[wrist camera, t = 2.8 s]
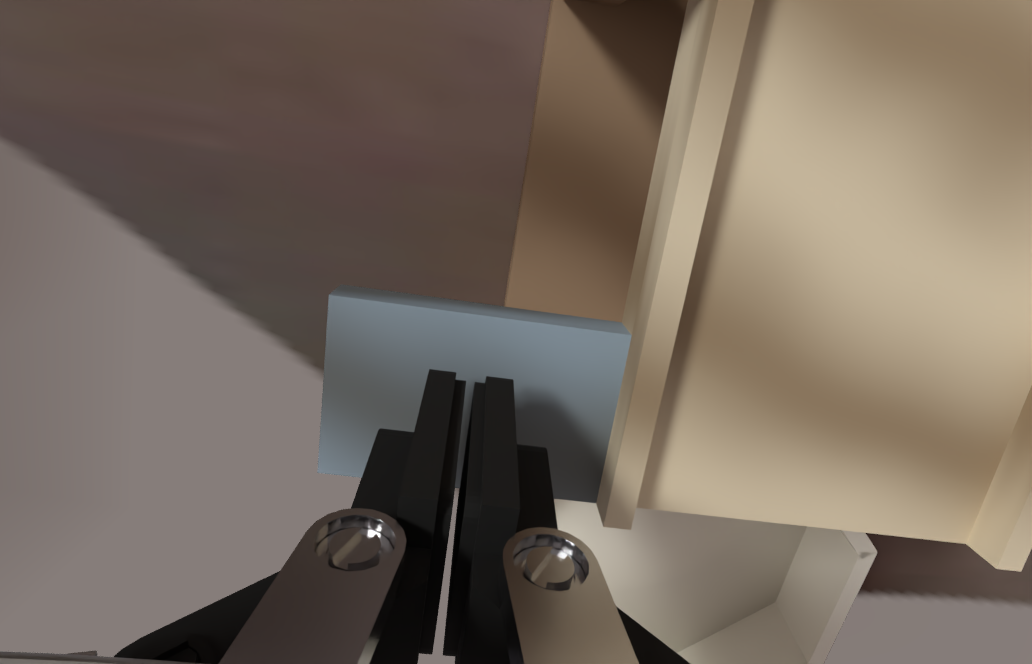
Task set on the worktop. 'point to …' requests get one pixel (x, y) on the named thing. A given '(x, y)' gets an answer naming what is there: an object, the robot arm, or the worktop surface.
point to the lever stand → (592, 153)
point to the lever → (778, 292)
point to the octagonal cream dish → (727, 581)
